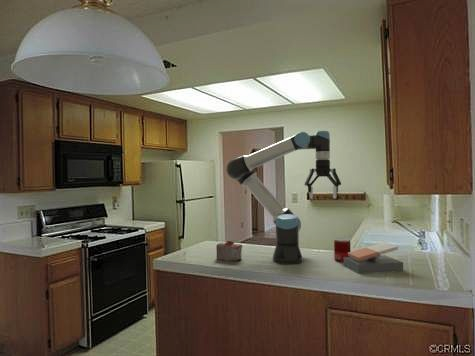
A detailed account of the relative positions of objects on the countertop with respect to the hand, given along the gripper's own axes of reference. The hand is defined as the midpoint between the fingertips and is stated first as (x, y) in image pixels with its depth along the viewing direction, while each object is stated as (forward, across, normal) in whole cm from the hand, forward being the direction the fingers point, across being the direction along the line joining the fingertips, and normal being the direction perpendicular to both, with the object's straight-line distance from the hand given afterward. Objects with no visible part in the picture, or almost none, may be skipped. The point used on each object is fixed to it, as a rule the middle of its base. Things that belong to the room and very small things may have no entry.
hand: (323, 198), depth 177 cm
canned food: (+32, +6, -10) cm, 34 cm away
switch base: (+32, +13, -26) cm, 43 cm away
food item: (+32, -51, +3) cm, 61 cm away
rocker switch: (+25, +13, -26) cm, 39 cm away
